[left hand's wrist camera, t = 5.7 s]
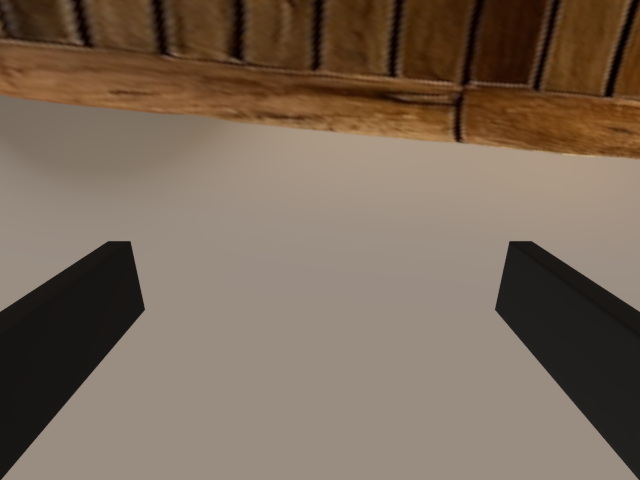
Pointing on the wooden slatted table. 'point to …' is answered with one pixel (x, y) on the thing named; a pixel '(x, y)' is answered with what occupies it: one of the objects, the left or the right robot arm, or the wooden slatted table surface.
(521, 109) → the wooden slatted table surface
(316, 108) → the wooden slatted table surface
